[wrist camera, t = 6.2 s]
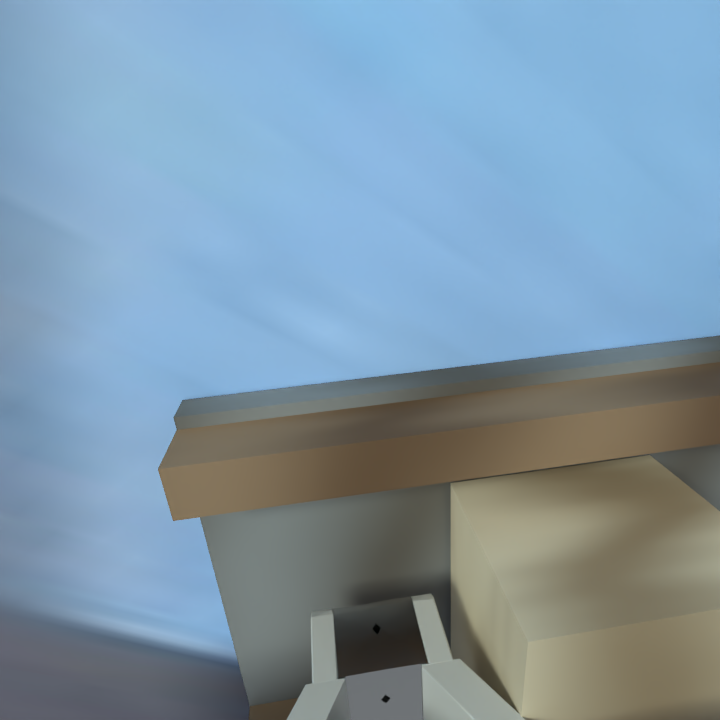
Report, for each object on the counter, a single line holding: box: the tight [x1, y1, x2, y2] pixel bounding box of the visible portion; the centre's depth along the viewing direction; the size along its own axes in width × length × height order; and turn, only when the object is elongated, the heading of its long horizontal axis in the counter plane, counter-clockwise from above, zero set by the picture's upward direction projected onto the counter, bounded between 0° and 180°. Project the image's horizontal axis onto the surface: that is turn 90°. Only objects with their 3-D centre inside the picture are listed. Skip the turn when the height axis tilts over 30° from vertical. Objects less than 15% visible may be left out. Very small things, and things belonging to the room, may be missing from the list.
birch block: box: [451, 455, 720, 720], centre depth 10 cm, size 5×6×4 cm
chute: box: [158, 336, 720, 720], centre depth 12 cm, size 24×11×2 cm, turn 94°
